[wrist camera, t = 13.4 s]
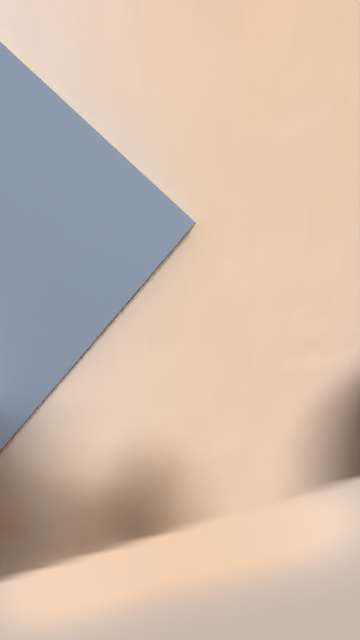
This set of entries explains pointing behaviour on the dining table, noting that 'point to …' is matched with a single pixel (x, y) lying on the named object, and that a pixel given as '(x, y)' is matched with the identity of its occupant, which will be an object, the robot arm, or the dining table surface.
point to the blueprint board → (65, 238)
